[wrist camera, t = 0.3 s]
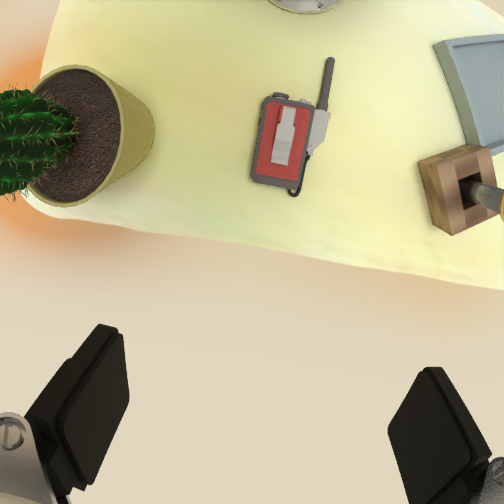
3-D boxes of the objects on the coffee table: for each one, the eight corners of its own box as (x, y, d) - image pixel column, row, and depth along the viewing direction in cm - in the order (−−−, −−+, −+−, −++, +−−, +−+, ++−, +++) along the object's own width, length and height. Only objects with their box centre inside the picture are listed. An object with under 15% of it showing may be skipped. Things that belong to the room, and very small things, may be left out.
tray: (432, 45, 34) (444, 40, 31) (504, 37, 31) (517, 33, 28) (470, 156, 39) (483, 158, 36) (534, 133, 36) (548, 134, 33)
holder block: (417, 161, 41) (436, 166, 35) (467, 144, 39) (489, 146, 33) (432, 224, 44) (451, 236, 38) (479, 204, 42) (501, 212, 36)
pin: (439, 174, 40) (502, 194, 26) (462, 166, 39) (526, 182, 25) (446, 203, 41) (506, 233, 27) (468, 194, 41) (530, 220, 26)
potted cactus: (69, 101, 39) (-93, 99, 11) (159, 69, 38) (14, -4, 10) (86, 195, 44) (-68, 268, 16) (177, 173, 43) (39, 239, 15)
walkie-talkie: (310, 198, 44) (337, 61, 37) (315, 205, 40) (344, 53, 33) (247, 186, 44) (273, 47, 37) (245, 191, 39) (274, 38, 33)
